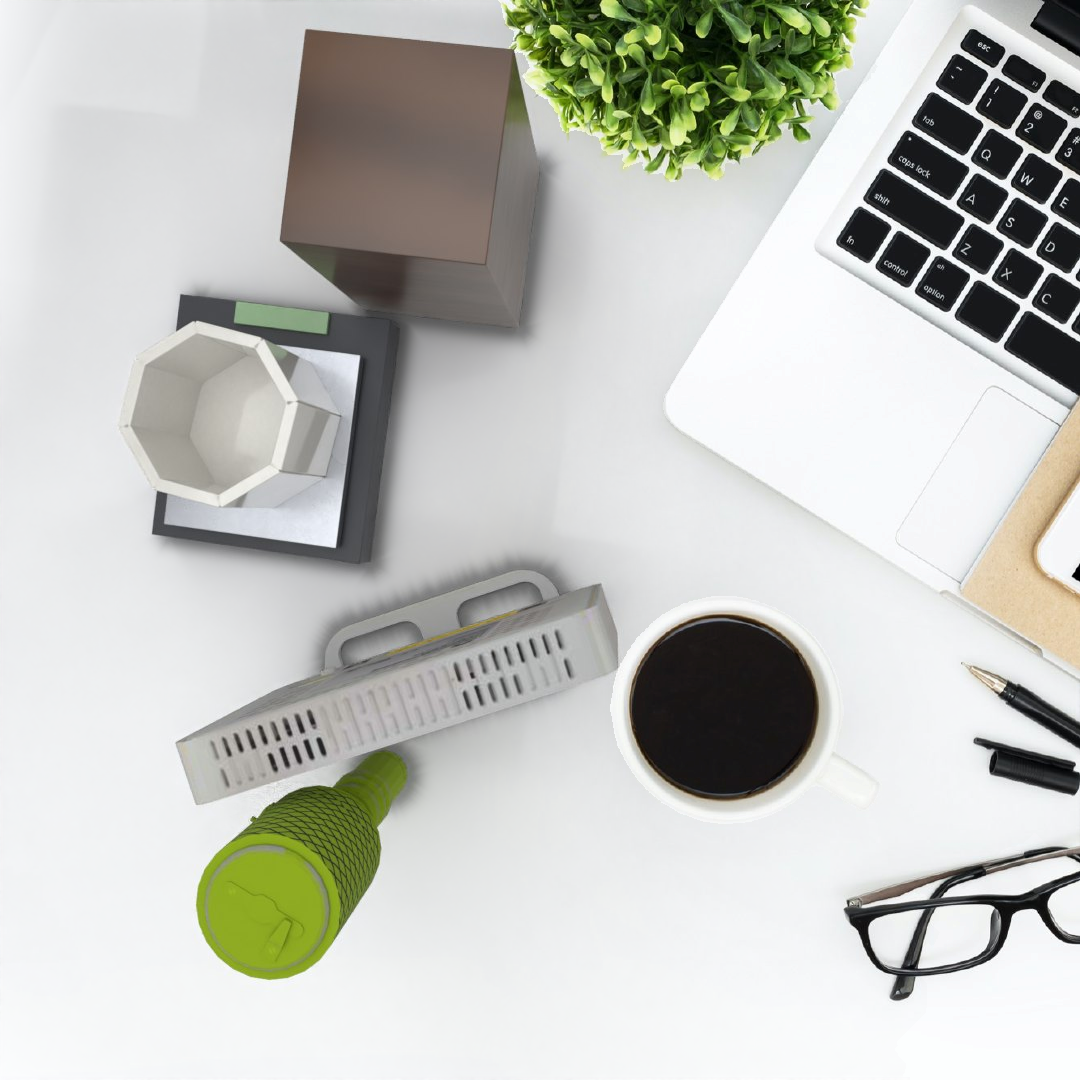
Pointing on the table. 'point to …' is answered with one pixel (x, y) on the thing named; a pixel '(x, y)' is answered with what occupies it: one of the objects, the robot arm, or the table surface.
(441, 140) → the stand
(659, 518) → the table surface
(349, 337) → the scale
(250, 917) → the microphone
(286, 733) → the network device
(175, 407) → the cup
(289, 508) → the scale pan
